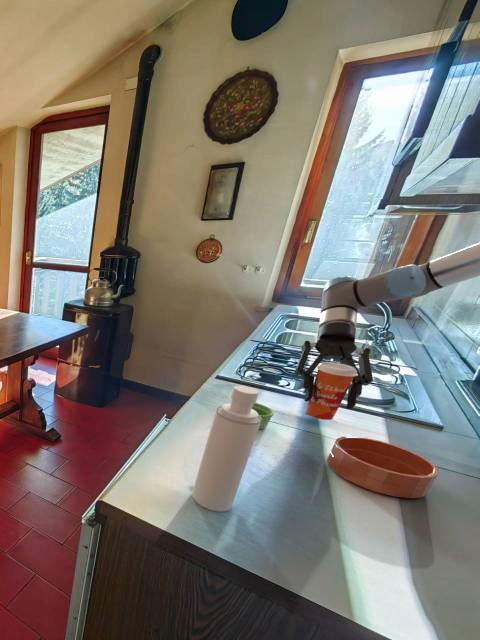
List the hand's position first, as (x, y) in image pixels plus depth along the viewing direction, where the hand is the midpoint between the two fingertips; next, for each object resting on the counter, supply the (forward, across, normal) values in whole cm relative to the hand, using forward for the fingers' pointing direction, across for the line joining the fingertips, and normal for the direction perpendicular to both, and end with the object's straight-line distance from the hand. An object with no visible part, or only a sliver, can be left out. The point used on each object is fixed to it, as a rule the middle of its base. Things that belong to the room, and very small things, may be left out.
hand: (329, 402), depth 100 cm
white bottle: (+40, +24, +29) cm, 55 cm away
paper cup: (+1, 0, -6) cm, 6 cm away
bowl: (+21, -5, +10) cm, 23 cm away
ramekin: (+10, +16, -1) cm, 19 cm away
